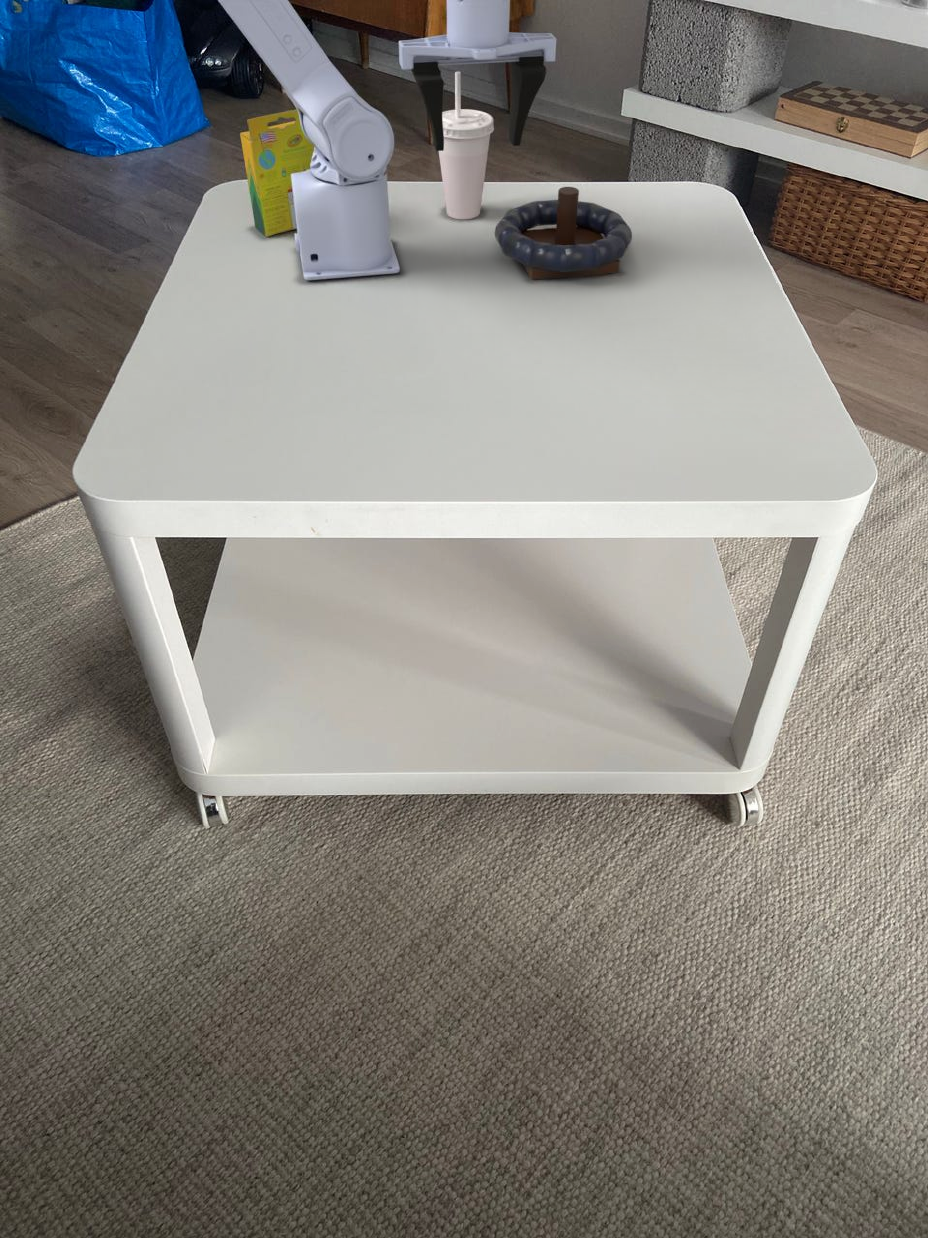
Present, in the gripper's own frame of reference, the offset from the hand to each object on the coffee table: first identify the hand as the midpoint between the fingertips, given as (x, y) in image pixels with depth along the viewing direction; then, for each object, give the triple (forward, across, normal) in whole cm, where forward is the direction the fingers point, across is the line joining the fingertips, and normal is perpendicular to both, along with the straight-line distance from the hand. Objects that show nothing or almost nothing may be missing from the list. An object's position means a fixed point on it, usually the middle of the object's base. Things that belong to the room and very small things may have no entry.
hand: (476, 144), depth 96 cm
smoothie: (+10, 0, +7) cm, 12 cm away
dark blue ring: (+7, +8, -6) cm, 12 cm away
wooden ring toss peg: (+9, +8, -6) cm, 14 cm away
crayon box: (+10, -19, +7) cm, 22 cm away
